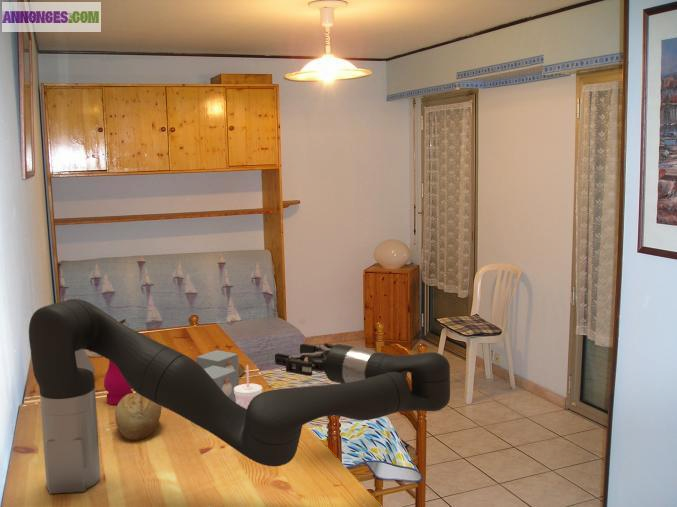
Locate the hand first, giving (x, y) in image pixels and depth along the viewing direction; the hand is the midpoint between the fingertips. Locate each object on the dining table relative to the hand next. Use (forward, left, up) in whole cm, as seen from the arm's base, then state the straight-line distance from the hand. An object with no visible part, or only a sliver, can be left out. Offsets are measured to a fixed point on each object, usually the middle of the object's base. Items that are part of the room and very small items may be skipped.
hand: (288, 353), depth 145 cm
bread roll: (+8, +32, -18) cm, 38 cm away
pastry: (+42, +14, -18) cm, 48 cm away
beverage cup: (+4, +9, -18) cm, 20 cm away
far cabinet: (+24, +16, -18) cm, 34 cm away
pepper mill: (+27, +40, -18) cm, 51 cm away
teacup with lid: (+71, +53, -18) cm, 90 cm away
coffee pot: (+45, +51, -18) cm, 70 cm away
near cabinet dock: (+7, +12, -18) cm, 22 cm away
